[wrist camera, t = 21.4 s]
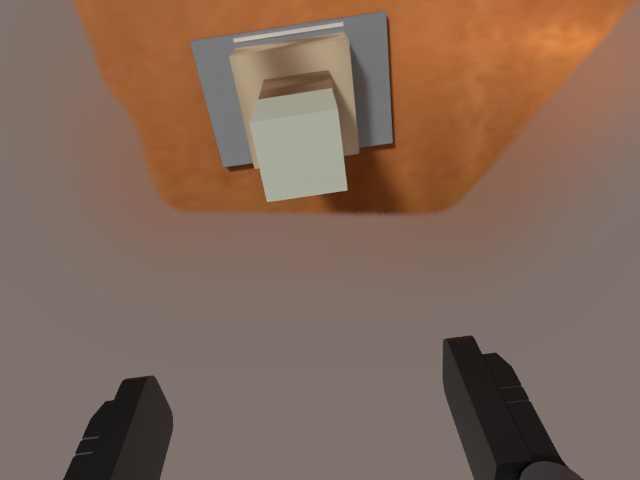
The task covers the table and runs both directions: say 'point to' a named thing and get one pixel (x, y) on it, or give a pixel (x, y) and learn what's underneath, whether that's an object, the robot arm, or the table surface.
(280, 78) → the block
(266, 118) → the block
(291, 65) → the pedestal
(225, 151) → the plate
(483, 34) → the table surface
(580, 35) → the table surface
